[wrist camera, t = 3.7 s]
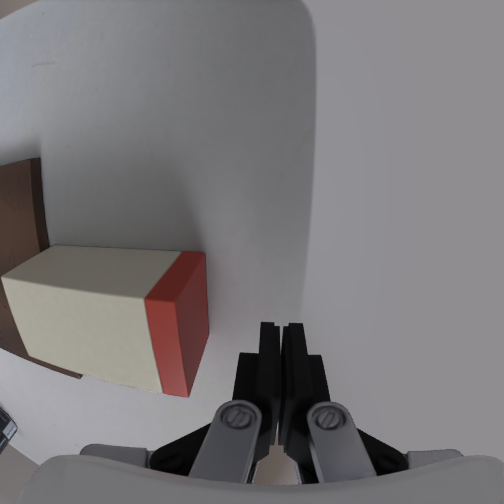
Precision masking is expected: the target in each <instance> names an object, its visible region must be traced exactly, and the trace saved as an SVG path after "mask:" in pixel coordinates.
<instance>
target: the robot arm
mask: <svg viewBox="0 0 504 504" xmlns="http://www.w3.org/2000/svg"><path fill="white" fill-rule="evenodd" d="M277 423H278V443H279V445H284V453H287V455H288V456H289V457H290V458H292V459H293V460H294V466H295V471H296V476H297V479H298V484H299V485H262V484H253V480H254V476H255V473H256V469H257V465H258V461H260V460H261V459H263V458H264V457H265V456H267V455H268V454H269V447H270V445H274V442H275V436H276V430H277ZM16 504H504V463H503V462H502V461H501V460H499V459H497V458H495V457H491V456H479V455H478V456H477V455H476V456H463V455H462V454H461V453H460V452H459V451H457V450H454V449H446V450H431V451H408V452H407V453H406V454H402V453H401V452H399V451H398V450H396V449H394V448H393V447H391V446H389V445H387V444H385V443H383V442H381V441H379V440H377V439H376V438H374V437H372V436H370V435H368V434H366V433H365V432H363V431H361V430H359V429H358V428H356V426H355V424H354V422H353V419H352V417H351V415H350V413H349V412H348V410H347V409H346V408H345V407H344V406H343V405H341V404H339V403H336V402H331V401H330V395H329V390H328V385H327V380H326V375H325V370H324V365H323V361H322V357H321V355H308V353H307V346H306V340H305V334H304V327H303V323H289V326H284V327H283V336H282V346H281V354H280V326H274V322H261V328H260V343H259V353H242V352H240V354H239V360H238V366H237V372H236V379H235V385H234V391H233V397H232V401H228V402H226V403H224V404H223V405H221V406H220V407H219V408H218V410H217V411H216V414H215V416H214V418H213V421H212V422H211V423H209V424H207V425H206V426H204V427H202V428H200V429H198V430H196V431H194V432H192V433H190V434H188V435H186V436H184V437H182V438H180V439H178V440H175V441H173V442H171V443H169V444H167V445H165V446H162V447H160V448H159V449H157V450H156V451H148V450H147V448H135V447H122V446H112V445H103V444H90V445H87V446H85V447H84V448H83V449H82V450H81V452H80V454H79V455H60V456H55V457H52V458H50V459H48V460H46V461H45V462H44V463H43V464H41V466H40V467H39V468H38V469H37V470H36V471H35V473H34V474H33V475H32V477H31V478H30V480H29V481H28V483H27V484H26V486H25V488H24V490H23V491H22V493H21V495H20V497H19V498H18V500H17V502H16Z"/></svg>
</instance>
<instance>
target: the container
mask: <svg viewBox="0 0 504 504" xmlns="http://www.w3.org/2000/svg"><path fill="white" fill-rule="evenodd" d="M1 279H2V283H3V286H4V290H5V293H6V296H7V299H8V303H9V306H10V309H11V312H12V314H13V317H14V320H15V323H16V325H17V328H18V331H19V333H20V336H21V338H22V340H23V343H24V345H25V348H26V350H27V352H28V354H29V356H31V357H34V358H36V359H39V360H42V361H44V362H47V363H50V364H52V365H55V366H58V367H61V368H64V369H67V370H70V371H73V372H76V373H80V374H83V375H86V376H90V377H93V378H97V379H100V380H104V381H108V382H112V383H116V384H120V385H124V386H128V387H132V388H137V389H142V390H146V391H151V392H157V393H164V394H168V395H174V396H180V397H187V398H188V397H189V396H190V393H191V389H192V386H193V383H194V380H195V377H196V374H197V371H198V367H199V364H200V361H201V358H202V355H203V352H204V349H205V346H206V343H207V340H208V337H209V323H208V306H207V285H206V260H205V253H202V252H181V251H161V250H141V249H121V248H101V247H81V246H62V245H54V246H52V247H50V248H48V249H46V250H45V251H43V252H41V253H39V254H38V255H36V256H34V257H32V258H31V259H29V260H27V261H26V262H24V263H22V264H20V265H19V266H17V267H16V268H14V269H12V270H11V271H9V272H7V273H6V274H4V275H3V276H1Z"/></svg>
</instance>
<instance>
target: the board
mask: <svg viewBox="0 0 504 504" xmlns="http://www.w3.org/2000/svg"><path fill="white" fill-rule="evenodd" d="M48 248H49V244H48V238H47V231H46V225H45V217H44V209H43V199H42V188H41V172H40V158H32V159H27V160H23V161H19V162H15V163H11V164H7V165H3V166H0V348H2V349H4V350H6V351H8V352H10V353H12V354H15V355H17V356H19V357H21V358H24V359H26V360H28V361H31V362H33V363H36V364H38V365H41V366H43V367H46V368H49V369H51V370H54V371H57V372H60V373H62V374H65V375H68V376H71V377H74V378H77V379H81V377H82V376H83V374H80V373H76V372H73V371H70V370H67V369H64V368H61V367H58V366H55V365H52V364H50V363H47V362H44V361H42V360H39V359H36V358H34V357H31V356H29V354H28V352H27V350H26V348H25V345H24V343H23V340H22V338H21V336H20V333H19V331H18V328H17V325H16V323H15V320H14V317H13V314H12V312H11V309H10V306H9V303H8V299H7V296H6V293H5V290H4V286H3V283H2V279H1V276H3V275H4V274H6V273H7V272H9V271H11V270H12V269H14V268H16V267H17V266H19V265H20V264H22V263H24V262H26V261H27V260H29V259H31V258H32V257H34V256H36V255H38V254H39V253H41V252H43V251H45V250H46V249H48Z"/></svg>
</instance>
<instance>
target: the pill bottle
mask: <svg viewBox="0 0 504 504" xmlns="http://www.w3.org/2000/svg"><path fill="white" fill-rule="evenodd" d="M16 431H17V427H16V425H15V424H14V422H13V421H12V420H11V418H10V417H9V416H8V415H7V414H6V413H5V412H4V411H3V410H2V409H0V454H1V453H2V451H3V450H4V448H5V447H6V445H7V444H8V443H9V441H10V440H11V438H12V437H13V435H14V434H15V433H16Z"/></svg>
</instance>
